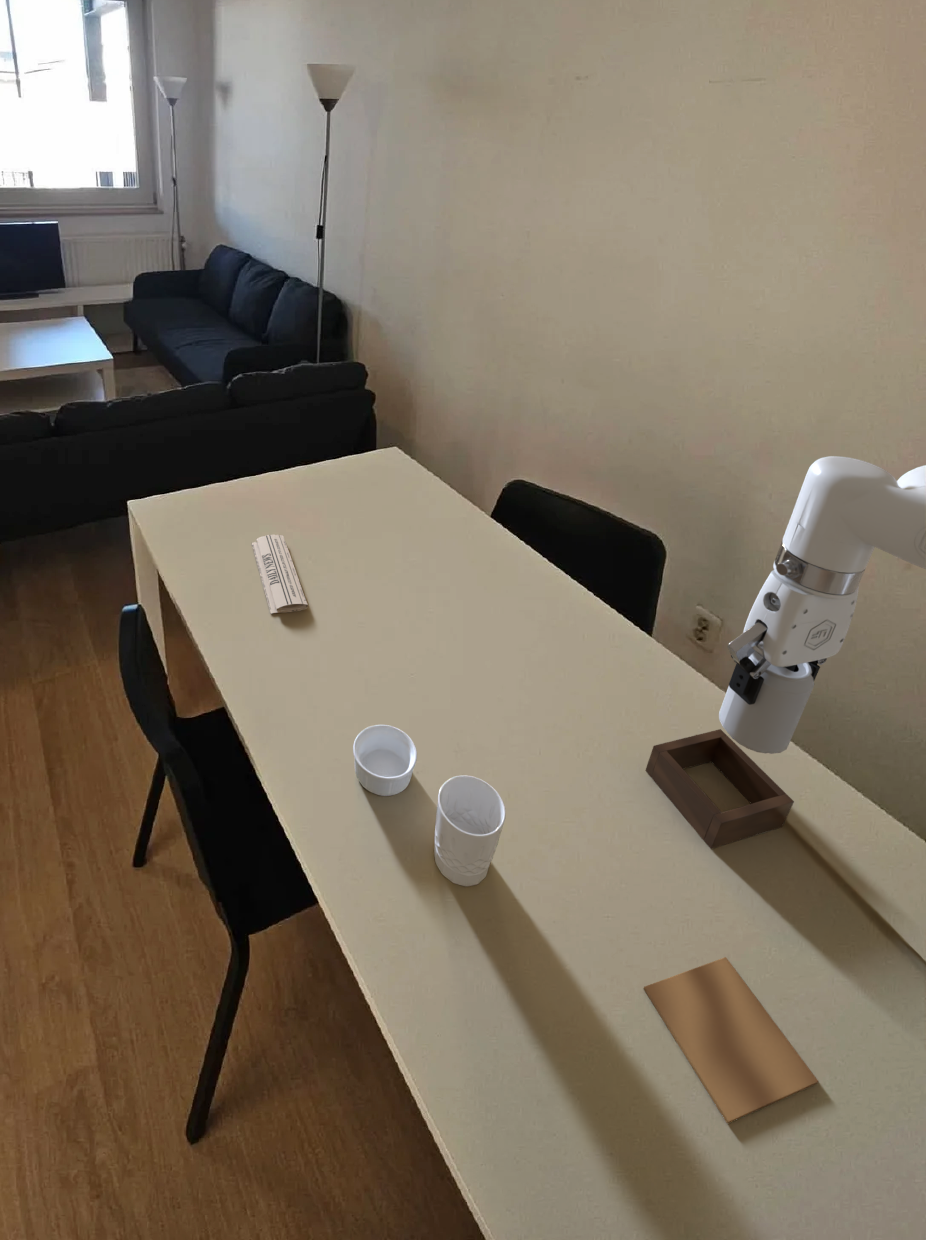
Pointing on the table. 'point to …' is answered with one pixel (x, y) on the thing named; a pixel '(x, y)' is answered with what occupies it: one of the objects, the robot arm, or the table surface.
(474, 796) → the white cup
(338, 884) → the table surface
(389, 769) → the ramekin
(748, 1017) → the coaster
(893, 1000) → the table surface
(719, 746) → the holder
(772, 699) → the can
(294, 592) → the newspaper
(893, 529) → the robot arm
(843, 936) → the table surface
